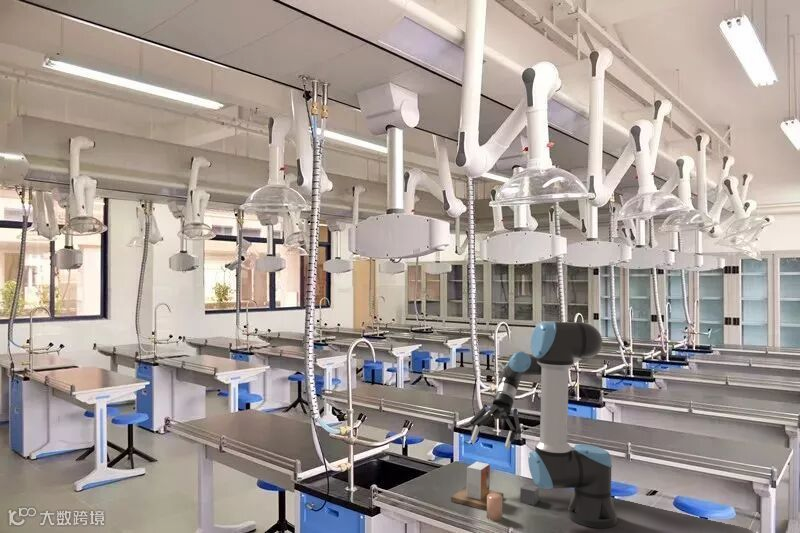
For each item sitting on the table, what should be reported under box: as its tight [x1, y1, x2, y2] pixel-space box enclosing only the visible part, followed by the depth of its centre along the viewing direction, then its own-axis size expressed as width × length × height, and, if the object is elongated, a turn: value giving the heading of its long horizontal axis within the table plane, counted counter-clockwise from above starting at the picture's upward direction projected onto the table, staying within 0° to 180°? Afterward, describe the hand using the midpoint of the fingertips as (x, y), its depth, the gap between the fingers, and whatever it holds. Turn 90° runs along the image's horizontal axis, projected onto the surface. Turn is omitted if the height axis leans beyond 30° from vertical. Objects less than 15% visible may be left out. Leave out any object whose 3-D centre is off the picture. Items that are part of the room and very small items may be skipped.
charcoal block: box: [519, 483, 540, 506], centre depth 199 cm, size 5×5×5 cm
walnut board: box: [450, 485, 504, 511], centre depth 199 cm, size 14×14×2 cm
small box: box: [466, 461, 491, 500], centre depth 199 cm, size 8×6×10 cm
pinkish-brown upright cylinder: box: [486, 493, 503, 522], centre depth 184 cm, size 5×5×7 cm
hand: (489, 445), depth 208 cm, fingers open, 13 cm apart
